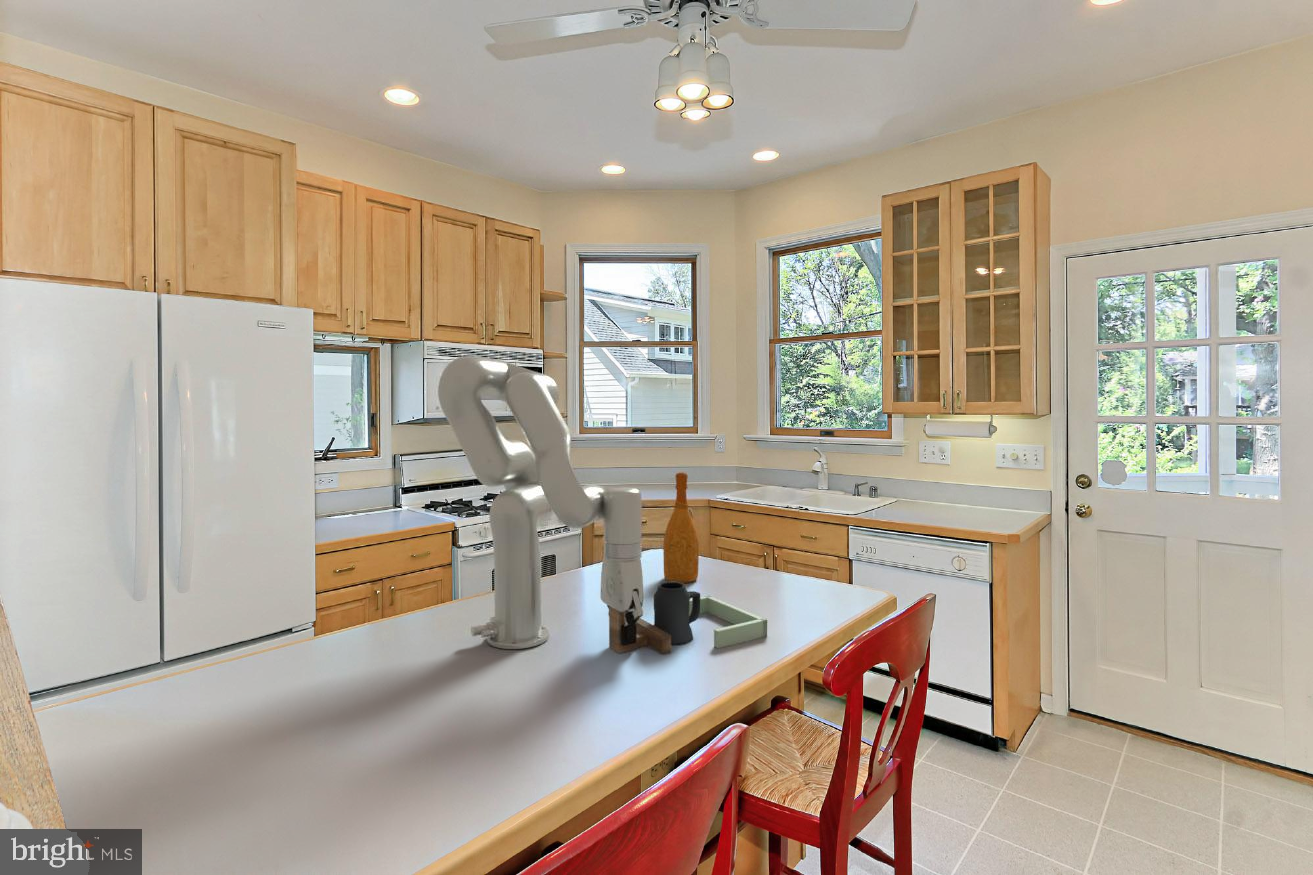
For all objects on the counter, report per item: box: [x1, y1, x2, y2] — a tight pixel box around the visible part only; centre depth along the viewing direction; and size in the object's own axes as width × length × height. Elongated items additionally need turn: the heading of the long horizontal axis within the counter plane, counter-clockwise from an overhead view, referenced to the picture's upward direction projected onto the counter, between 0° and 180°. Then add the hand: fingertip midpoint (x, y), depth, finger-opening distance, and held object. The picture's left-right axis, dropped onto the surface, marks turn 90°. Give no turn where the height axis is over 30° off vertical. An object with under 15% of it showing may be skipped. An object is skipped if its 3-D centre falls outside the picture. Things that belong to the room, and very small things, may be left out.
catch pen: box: [689, 595, 768, 649], centre depth 143 cm, size 13×20×4 cm, turn 32°
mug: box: [653, 581, 701, 647], centre depth 138 cm, size 12×9×11 cm
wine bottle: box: [662, 471, 700, 584], centre depth 182 cm, size 10×10×30 cm
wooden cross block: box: [608, 605, 672, 655], centre depth 132 cm, size 9×14×9 cm, turn 32°
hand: (622, 639), depth 131 cm, fingers closed on wooden cross block, 4 cm apart
